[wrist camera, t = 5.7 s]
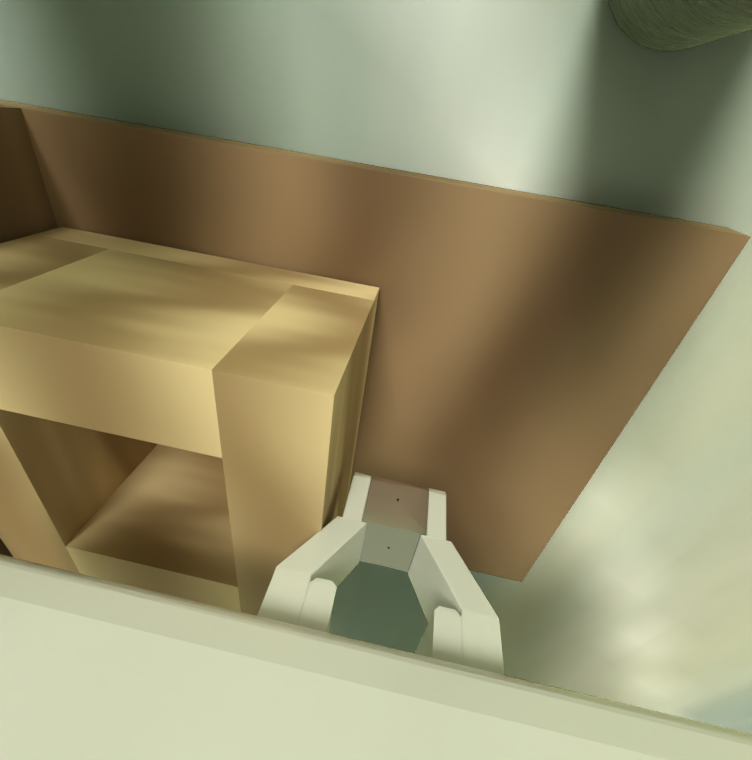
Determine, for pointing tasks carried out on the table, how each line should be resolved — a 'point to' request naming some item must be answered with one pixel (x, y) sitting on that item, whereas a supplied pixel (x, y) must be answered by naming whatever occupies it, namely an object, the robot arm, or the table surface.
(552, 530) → the jig
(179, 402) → the tan square frame
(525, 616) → the table surface
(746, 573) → the table surface
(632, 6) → the dowel
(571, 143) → the table surface
